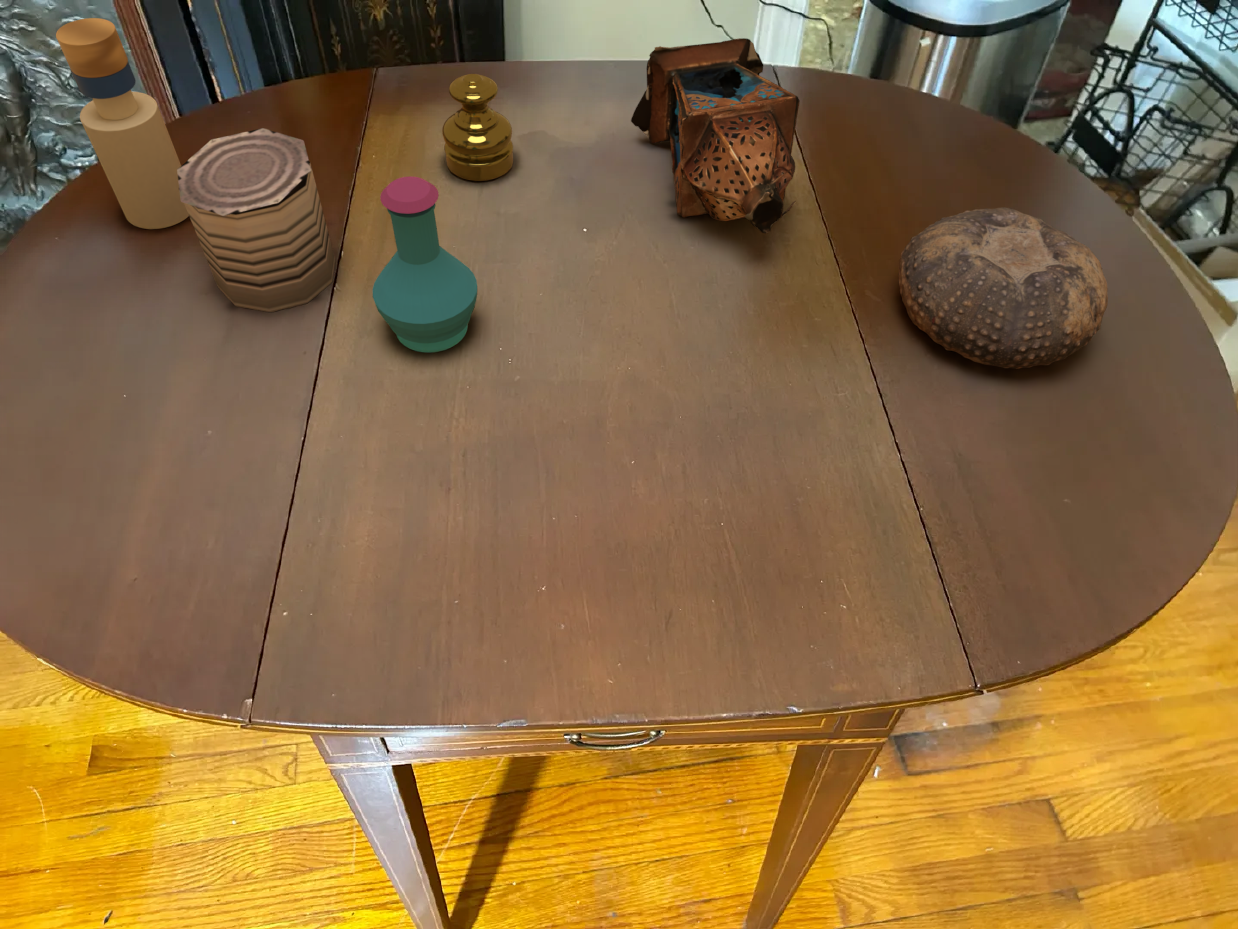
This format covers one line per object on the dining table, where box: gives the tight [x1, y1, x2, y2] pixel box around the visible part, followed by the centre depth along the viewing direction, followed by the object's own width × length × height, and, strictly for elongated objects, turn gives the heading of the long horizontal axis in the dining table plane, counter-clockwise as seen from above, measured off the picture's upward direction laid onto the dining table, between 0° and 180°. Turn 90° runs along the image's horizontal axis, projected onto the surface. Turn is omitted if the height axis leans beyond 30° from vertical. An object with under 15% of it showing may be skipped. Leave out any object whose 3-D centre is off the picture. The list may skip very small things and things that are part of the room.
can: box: [177, 127, 336, 313], centre depth 84 cm, size 11×11×12 cm
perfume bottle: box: [371, 175, 478, 353], centre depth 79 cm, size 9×9×15 cm
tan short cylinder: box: [55, 17, 129, 78], centre depth 80 cm, size 5×5×3 cm
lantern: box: [630, 37, 801, 234], centre depth 94 cm, size 16×16×25 cm
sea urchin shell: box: [898, 207, 1109, 370], centre depth 85 cm, size 19×19×10 cm
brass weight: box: [441, 73, 514, 182], centre depth 97 cm, size 7×7×10 cm
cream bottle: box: [69, 61, 189, 230], centre depth 88 cm, size 7×7×16 cm
